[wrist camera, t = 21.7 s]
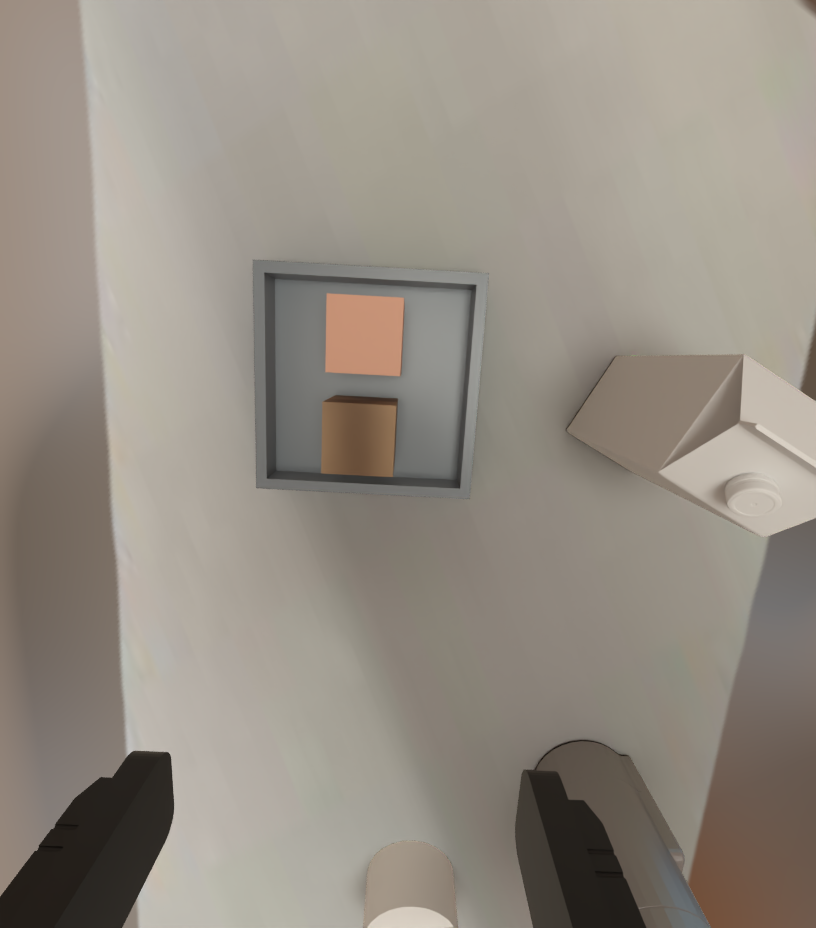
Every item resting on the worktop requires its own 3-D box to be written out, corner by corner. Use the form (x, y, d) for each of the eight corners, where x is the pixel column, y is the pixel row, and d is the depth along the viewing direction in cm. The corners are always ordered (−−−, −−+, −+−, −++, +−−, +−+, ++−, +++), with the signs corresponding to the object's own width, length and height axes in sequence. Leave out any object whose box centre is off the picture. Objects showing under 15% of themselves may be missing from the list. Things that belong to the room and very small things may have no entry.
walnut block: (398, 398, 38) (396, 405, 32) (395, 459, 39) (392, 477, 33) (335, 394, 38) (322, 401, 32) (334, 456, 39) (321, 473, 33)
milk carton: (615, 355, 38) (812, 351, 19) (685, 400, 39) (939, 438, 20) (564, 430, 39) (703, 494, 21) (633, 473, 40) (827, 571, 22)
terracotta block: (404, 307, 36) (404, 297, 31) (401, 373, 38) (400, 376, 32) (339, 303, 36) (326, 293, 31) (338, 370, 37) (325, 372, 32)
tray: (481, 281, 37) (489, 273, 33) (464, 487, 40) (469, 499, 37) (267, 268, 37) (252, 259, 33) (269, 477, 40) (256, 488, 37)
